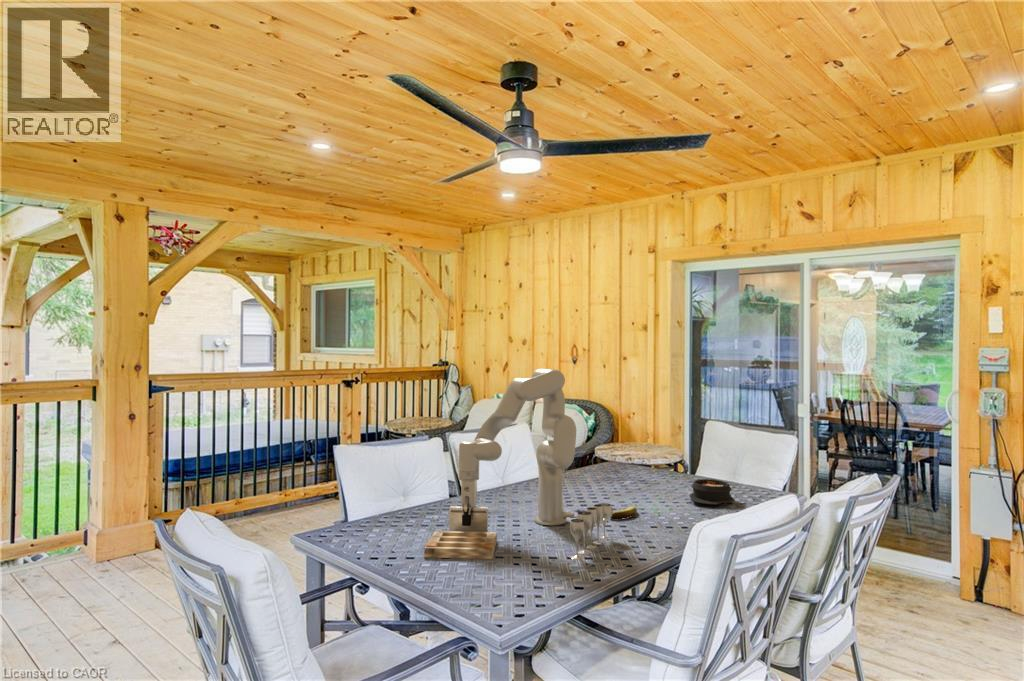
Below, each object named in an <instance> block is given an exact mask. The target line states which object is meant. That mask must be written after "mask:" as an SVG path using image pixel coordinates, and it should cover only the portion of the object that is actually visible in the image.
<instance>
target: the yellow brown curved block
mask: <svg viewBox="0 0 1024 681" xmlns="http://www.w3.org/2000/svg"><path fill="white" fill-rule="evenodd" d="M637 511H638V510H637V508H636V507H635V506H629V507H626V508H624V509H621V510H616V511H613V514H612V516H611V518H610V519H611V520H613V519H622V518H627V517H630V516H632V517H634V516H635V515H636V514H635V513H637ZM634 514H635V515H634ZM633 515H634V516H633ZM630 518H631V517H630ZM610 519H609V520H610ZM627 519H628V518H627ZM622 520H623V519H622Z"/></svg>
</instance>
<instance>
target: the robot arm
mask: <svg viewBox="0 0 1024 681" xmlns="http://www.w3.org/2000/svg"><path fill="white" fill-rule="evenodd" d="M565 378H566V377H565V375H564V374H563V372H561V371H560V370H558V369H554V368H553V369H552V368H538V369H535V370H534V371H533V372H532V374H531V377H528V378H527V377H515V378H513V380H511V381H510V382H509V384H508V385H507V386H508V387H507V388H506V390H505V392H504V394H503V396H502V397H501V400H500V401H499V404H498V406H497V407H496V410H495V411H494V412H493V413H492V414H491V415H489V417H488V418H487V419H486V420H485V421H484V423H483V424H482V425H481V426H480V428H479V429H478V431H477V434H476V436H475V437H474V440H463V441H461V442H460V443H459V444H458V446H459V447H458V480H459V481H461V488H460V489H461V490H460V491H461V492H460V493H461V496H460V498H461V502H460V503H461V506H462V508H463V513H462V526H471V514H470V512H471V507H473V508H475V507H477V503H478V481H479V480H480V461H481V462H482V461H483V462H494V461H496V460H498V459H499V458H500V457H502V456H501V455H502V453H503V451H502V450H503V448H502V446H501V445H500V444H499V442H498V441H496V440H495V439H496V437H497V436H498V435H499V433H500V432H501V431H502V430H504V429H505V428H507V427H508V426H511V425H512V424H514V423H515V422H516V421H517V419H518V418H519V415H520V413H521V411H522V409H523V407H524V405H525V403H526V402H533V401H536V400H540V399H542V401H543V402H542V403H543V406H542V407H543V408H542V409H543V410H542V418H541V430H542V432H543V434H544V435H546V436H547V437H550V438H552V439H546V440H542V441H541V442H540V443H539V444H538V446H537V448H536V454H535V455H536V461H537V469H538V509H537V510H538V514H537V515H536V516H534V522H535V523H537V524H538V525H542V526H560V525H563V524H566V523H567V522H568V521H567V518H570V519H575V512H572V511H565V510H564V506H563V505H564V502H563V500H564V499H563V498H564V497H563V494H564V492H563V491H564V485H563V483H564V475H563V470H565V469H567V468H569V467H570V466H571V465H572V464H573V462H574V460H575V454H576V441H577V425H576V423H575V421H574V419H573V418H572V417H571V416H570V415H566V414H565V413H566V412H565V411H566V399H565V398H566V397H565V394H564V393H565V392H564V391H563V387H564V386H565V384H566V379H565Z"/></svg>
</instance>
